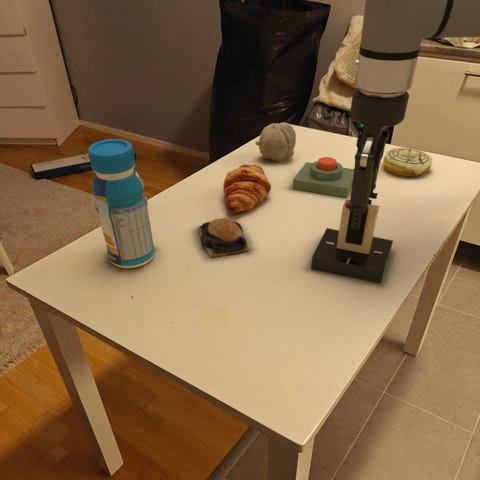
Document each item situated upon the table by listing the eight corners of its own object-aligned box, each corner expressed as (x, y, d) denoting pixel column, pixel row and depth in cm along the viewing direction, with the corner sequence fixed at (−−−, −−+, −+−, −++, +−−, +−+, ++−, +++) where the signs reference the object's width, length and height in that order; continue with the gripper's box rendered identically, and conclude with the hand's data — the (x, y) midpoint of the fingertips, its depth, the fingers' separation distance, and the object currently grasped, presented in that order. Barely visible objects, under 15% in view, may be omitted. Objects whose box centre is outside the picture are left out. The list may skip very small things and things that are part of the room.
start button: (337, 166, 102) (338, 158, 101) (333, 173, 100) (334, 165, 98) (319, 163, 104) (320, 155, 102) (315, 170, 101) (316, 162, 100)
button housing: (355, 178, 106) (358, 161, 103) (346, 197, 99) (348, 180, 96) (305, 170, 109) (306, 154, 107) (292, 188, 102) (293, 171, 100)
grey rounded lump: (292, 166, 117) (309, 129, 110) (277, 173, 111) (294, 134, 104) (262, 147, 119) (277, 110, 112) (246, 153, 113) (260, 114, 106)
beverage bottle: (143, 273, 79) (121, 160, 66) (99, 266, 81) (70, 154, 68) (163, 247, 85) (147, 139, 72) (122, 241, 87) (99, 134, 74)
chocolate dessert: (195, 229, 90) (194, 212, 88) (237, 223, 91) (236, 206, 89) (206, 259, 82) (205, 241, 80) (252, 251, 84) (252, 234, 81)
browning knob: (370, 247, 80) (379, 204, 74) (368, 254, 78) (377, 210, 73) (339, 241, 81) (345, 198, 76) (336, 248, 80) (342, 204, 74)
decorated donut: (426, 182, 104) (430, 166, 101) (378, 174, 107) (381, 158, 105) (432, 164, 111) (436, 148, 108) (386, 157, 114) (390, 142, 112)
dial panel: (390, 252, 83) (393, 239, 81) (381, 283, 76) (384, 270, 74) (325, 239, 86) (326, 227, 85) (310, 268, 80) (312, 255, 78)
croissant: (246, 188, 110) (230, 157, 106) (283, 172, 105) (268, 140, 102) (221, 231, 95) (202, 197, 91) (264, 215, 90) (246, 179, 86)
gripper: (364, 72, 69) (343, 213, 85) (341, 103, 58) (322, 257, 74) (416, 77, 67) (384, 221, 82) (402, 109, 56) (369, 267, 72)
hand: (355, 238), depth 78 cm, fingers closed on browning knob, 2 cm apart
